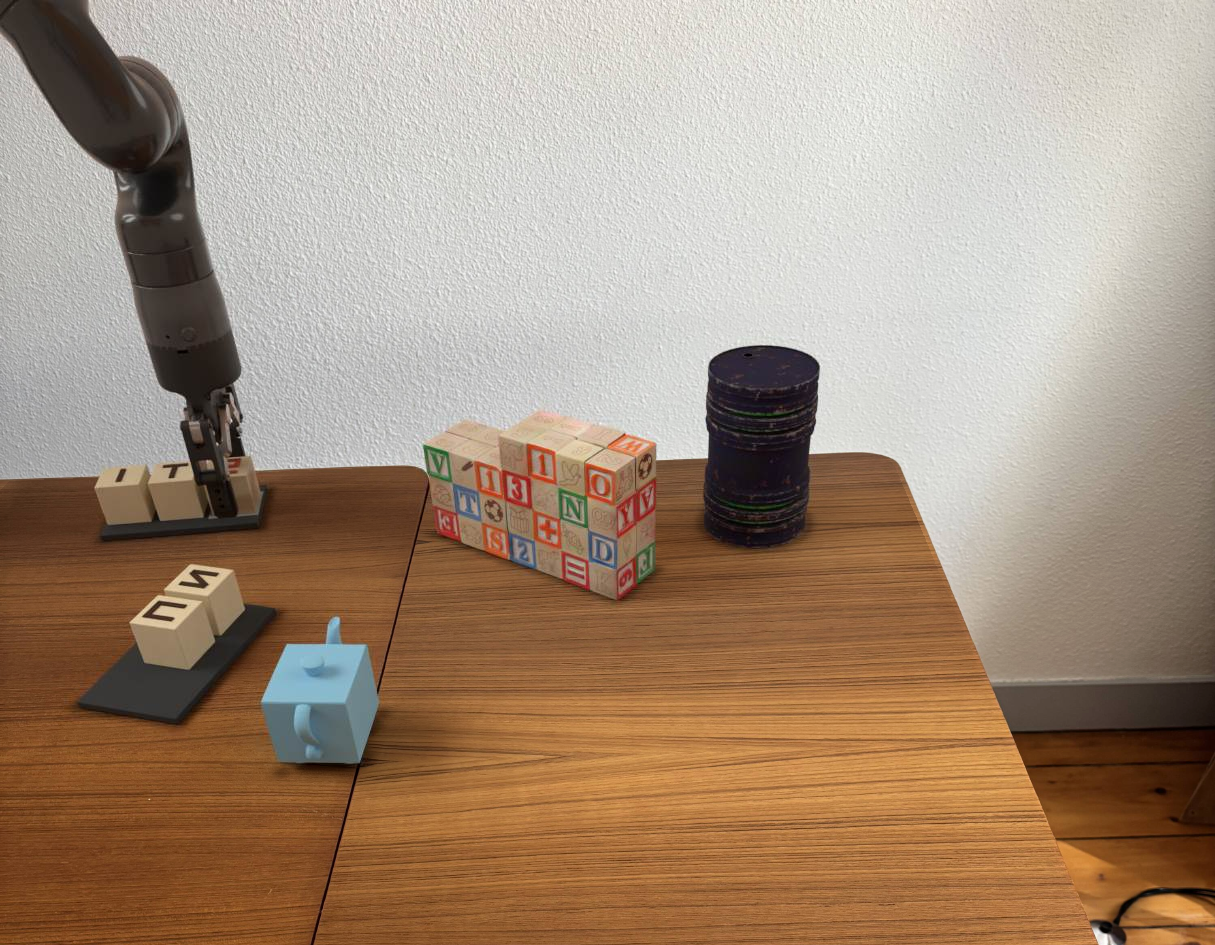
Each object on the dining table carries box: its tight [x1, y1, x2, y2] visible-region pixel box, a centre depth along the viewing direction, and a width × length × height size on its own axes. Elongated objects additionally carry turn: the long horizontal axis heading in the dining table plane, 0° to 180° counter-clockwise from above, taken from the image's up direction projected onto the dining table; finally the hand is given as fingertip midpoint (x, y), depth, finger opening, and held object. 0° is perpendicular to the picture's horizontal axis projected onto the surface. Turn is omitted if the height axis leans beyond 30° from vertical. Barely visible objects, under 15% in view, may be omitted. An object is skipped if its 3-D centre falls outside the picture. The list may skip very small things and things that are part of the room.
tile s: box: [204, 455, 261, 516], centre depth 111 cm, size 4×4×4 cm
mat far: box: [94, 460, 268, 542], centre depth 111 cm, size 15×8×5 cm, turn 96°
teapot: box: [260, 616, 380, 765], centre depth 84 cm, size 12×6×8 cm, turn 177°
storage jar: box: [702, 344, 821, 549], centre depth 103 cm, size 10×10×15 cm
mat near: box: [76, 563, 277, 725], centre depth 93 cm, size 9×16×5 cm, turn 164°
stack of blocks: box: [422, 409, 658, 601], centre depth 101 cm, size 21×6×12 cm, turn 55°
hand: (233, 494), depth 112 cm, fingers open, 8 cm apart
